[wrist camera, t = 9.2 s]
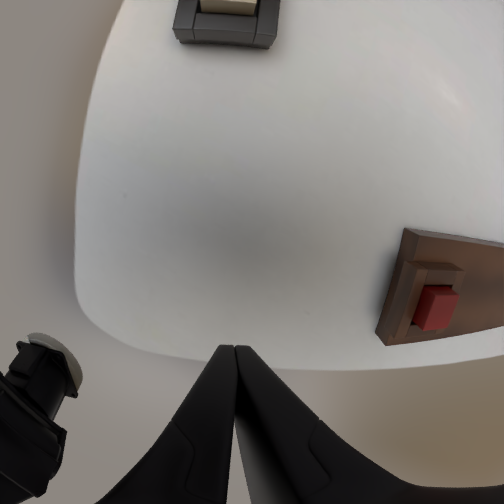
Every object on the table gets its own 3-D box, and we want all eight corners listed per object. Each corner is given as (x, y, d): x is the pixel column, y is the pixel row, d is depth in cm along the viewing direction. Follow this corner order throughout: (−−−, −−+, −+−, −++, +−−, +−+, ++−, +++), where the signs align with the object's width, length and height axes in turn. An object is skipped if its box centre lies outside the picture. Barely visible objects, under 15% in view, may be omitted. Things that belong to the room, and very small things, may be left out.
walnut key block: (503, 316, 27) (521, 329, 24) (366, 333, 24) (385, 359, 20) (526, 248, 24) (547, 258, 20) (395, 226, 21) (424, 241, 17)
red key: (436, 317, 20) (447, 328, 19) (411, 319, 20) (422, 331, 18) (447, 285, 19) (460, 294, 18) (422, 285, 19) (435, 295, 17)
